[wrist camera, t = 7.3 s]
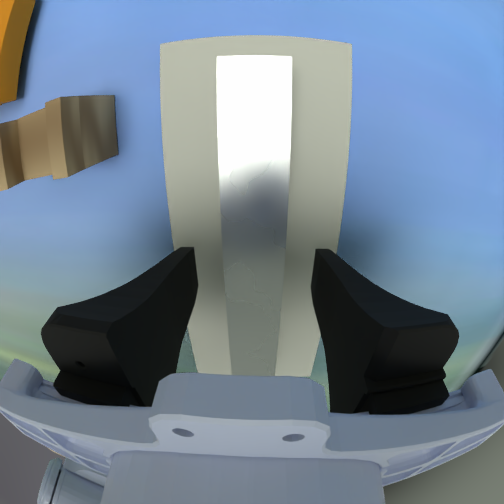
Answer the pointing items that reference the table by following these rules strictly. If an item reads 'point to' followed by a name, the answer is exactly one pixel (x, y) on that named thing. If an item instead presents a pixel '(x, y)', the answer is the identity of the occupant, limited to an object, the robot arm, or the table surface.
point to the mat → (300, 182)
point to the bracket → (12, 44)
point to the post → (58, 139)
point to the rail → (254, 202)
